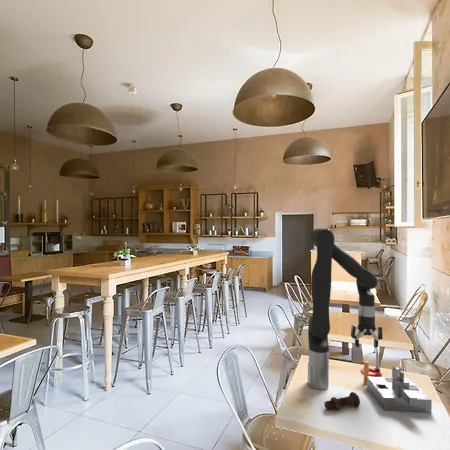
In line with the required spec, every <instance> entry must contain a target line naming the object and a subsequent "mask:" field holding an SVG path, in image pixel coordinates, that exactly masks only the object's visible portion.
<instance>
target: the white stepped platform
mask: <svg viewBox="0 0 450 450" xmlns="http://www.w3.org/2000/svg"><path fill="white" fill-rule="evenodd" d="M404 376H405V372H403V367H401V366H398V365H393V366H392V367H391V376H387V377H385V376H367V384H366V388H367V390H368V391H369V392H370V395H372V397H373V398H374V400H376V402H377V404H378V405H379V406H380V408H381V409H382V411H384V412H401V413H403V412H404V413H418V414H419V413H421V414H423V413H424V414H432V405H433V404H432V403H433V402H432V398H430V397H429V396H428V395H427V394H426V393H425V392H424V391H423V390H422V389H421V388H420V387H419V386H418V385H417V384H416V383H414V381H412V379H410V378H409V377H404Z"/></svg>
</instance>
